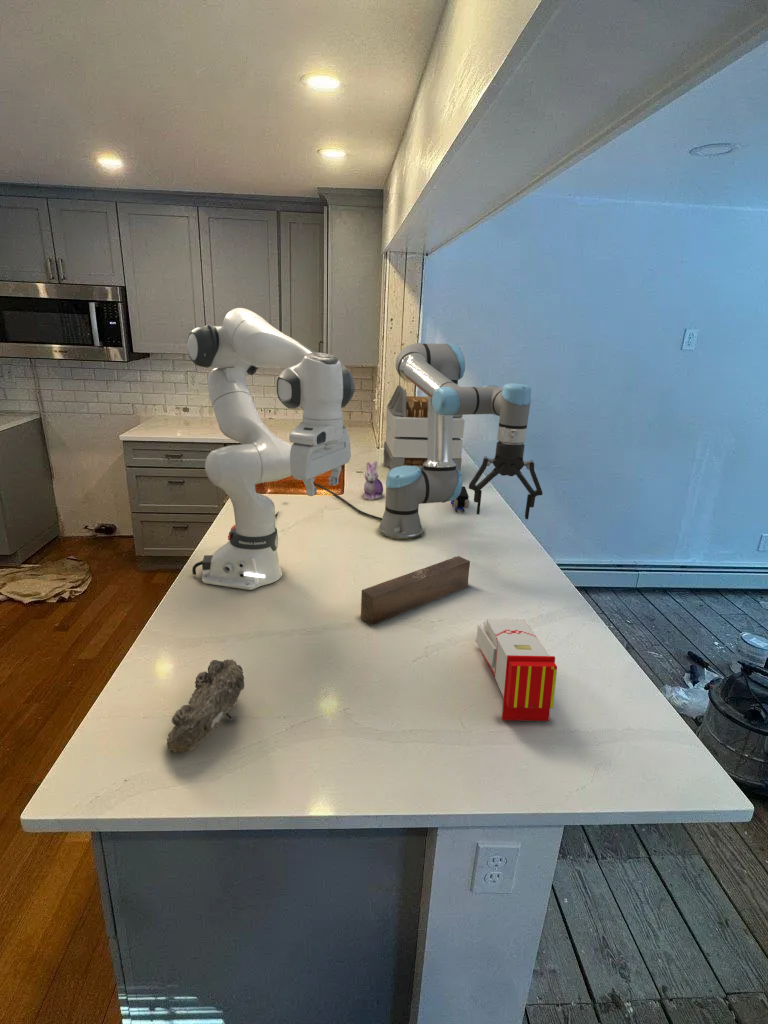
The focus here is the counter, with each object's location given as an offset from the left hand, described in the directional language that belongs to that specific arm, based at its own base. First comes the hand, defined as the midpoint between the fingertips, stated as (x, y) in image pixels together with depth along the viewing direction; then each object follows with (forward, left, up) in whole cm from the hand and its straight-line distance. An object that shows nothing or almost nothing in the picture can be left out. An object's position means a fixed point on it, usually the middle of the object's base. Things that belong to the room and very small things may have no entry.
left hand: (322, 489), depth 130 cm
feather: (-26, +75, -35) cm, 87 cm away
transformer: (+29, +142, -35) cm, 149 cm away
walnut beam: (+24, +14, -35) cm, 45 cm away
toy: (+43, -19, -35) cm, 59 cm away
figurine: (+8, +102, -35) cm, 108 cm away
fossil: (-16, -36, -35) cm, 53 cm away
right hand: (+48, +29, -14) cm, 58 cm away
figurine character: (+43, +93, -35) cm, 108 cm away
